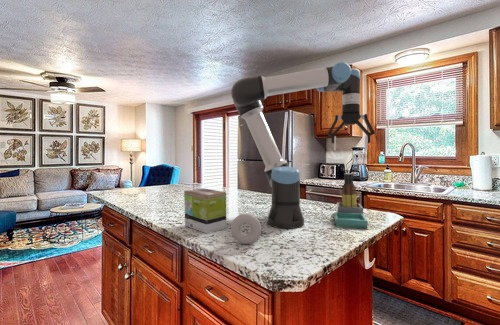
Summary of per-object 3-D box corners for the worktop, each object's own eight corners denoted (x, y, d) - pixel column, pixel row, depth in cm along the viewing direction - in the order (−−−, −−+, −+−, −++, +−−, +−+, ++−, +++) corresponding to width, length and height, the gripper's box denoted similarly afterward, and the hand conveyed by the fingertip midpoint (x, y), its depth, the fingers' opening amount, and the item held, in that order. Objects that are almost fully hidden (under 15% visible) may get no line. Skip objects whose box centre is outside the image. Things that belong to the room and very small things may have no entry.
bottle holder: (337, 217, 119) (337, 206, 119) (336, 212, 129) (336, 202, 129) (363, 219, 116) (363, 208, 116) (359, 213, 127) (359, 203, 126)
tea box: (183, 226, 106) (183, 190, 105) (203, 221, 113) (203, 187, 113) (206, 234, 96) (206, 194, 95) (227, 228, 103) (227, 191, 102)
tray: (336, 226, 105) (336, 219, 105) (334, 218, 117) (334, 212, 117) (367, 228, 102) (367, 221, 102) (362, 220, 114) (362, 213, 114)
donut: (230, 245, 84) (230, 214, 84) (231, 241, 87) (231, 212, 87) (261, 246, 83) (261, 215, 83) (261, 242, 87) (261, 212, 86)
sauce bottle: (354, 214, 126) (354, 173, 125) (358, 217, 120) (359, 174, 119) (340, 214, 126) (340, 172, 126) (343, 217, 120) (344, 174, 119)
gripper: (322, 104, 121) (322, 150, 121) (382, 101, 114) (381, 150, 115) (322, 106, 128) (322, 150, 129) (378, 104, 121) (378, 150, 122)
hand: (350, 150), depth 122 cm, fingers open, 13 cm apart
